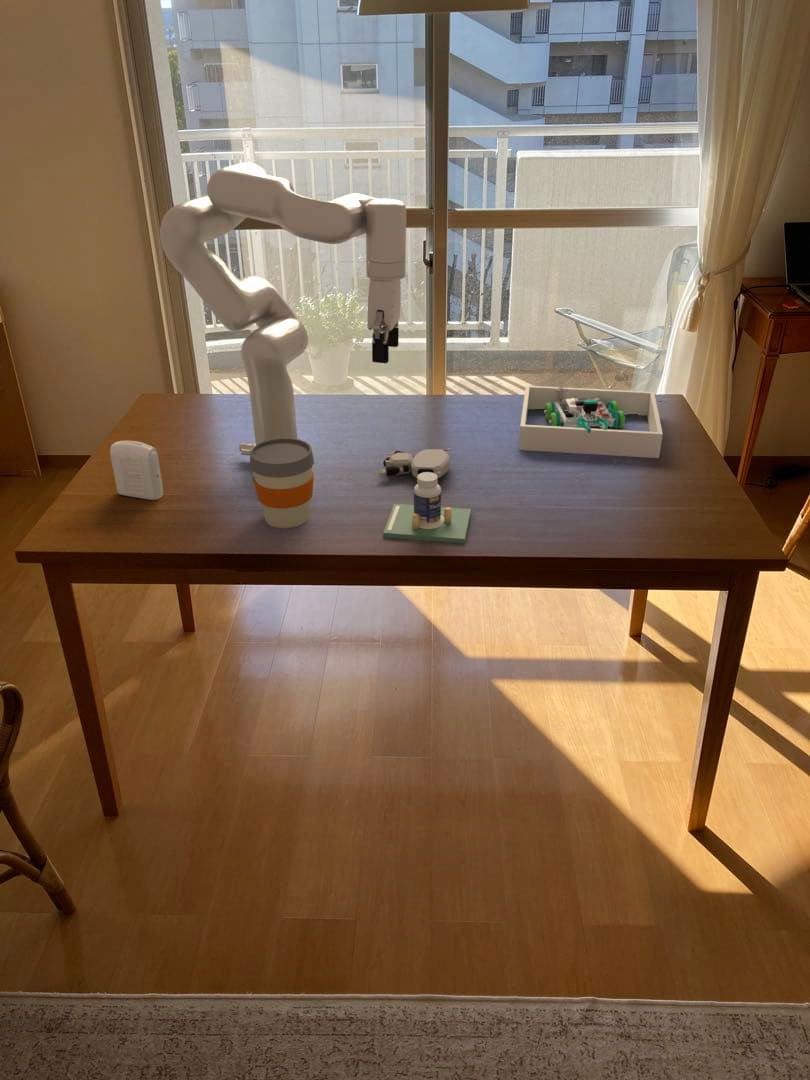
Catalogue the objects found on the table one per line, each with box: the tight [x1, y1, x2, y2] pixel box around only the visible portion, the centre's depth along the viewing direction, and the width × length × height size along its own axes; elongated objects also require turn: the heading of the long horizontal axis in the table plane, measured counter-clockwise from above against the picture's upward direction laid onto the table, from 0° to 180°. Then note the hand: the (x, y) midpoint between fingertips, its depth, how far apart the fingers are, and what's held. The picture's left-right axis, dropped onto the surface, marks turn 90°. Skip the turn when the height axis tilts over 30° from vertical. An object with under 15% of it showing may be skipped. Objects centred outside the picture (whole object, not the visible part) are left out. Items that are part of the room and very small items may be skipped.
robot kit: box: [543, 386, 626, 433], centre depth 211 cm, size 19×25×9 cm
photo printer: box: [109, 440, 164, 501], centre depth 185 cm, size 10×4×12 cm, turn 73°
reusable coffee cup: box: [249, 438, 315, 529], centre depth 175 cm, size 13×13×15 cm
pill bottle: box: [413, 472, 442, 526], centre depth 172 cm, size 5×5×10 cm
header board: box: [382, 503, 472, 544], centre depth 174 cm, size 16×12×4 cm
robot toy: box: [378, 447, 452, 479], centre depth 194 cm, size 12×4×15 cm
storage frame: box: [518, 385, 664, 459], centre depth 212 cm, size 32×26×6 cm
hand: (385, 354), depth 177 cm, fingers open, 9 cm apart
